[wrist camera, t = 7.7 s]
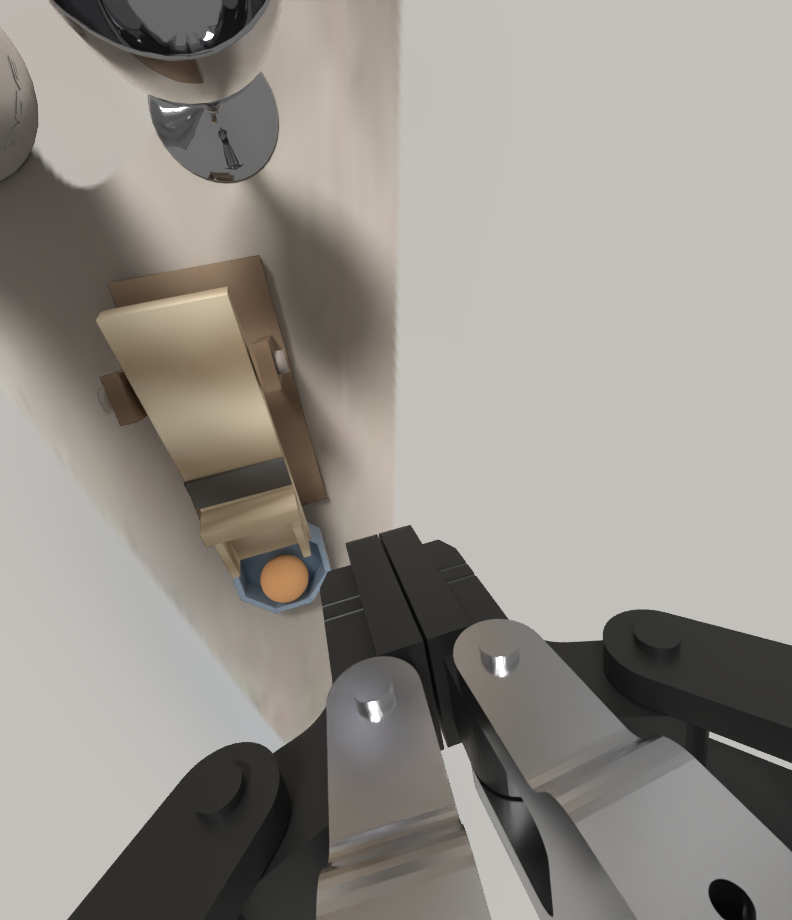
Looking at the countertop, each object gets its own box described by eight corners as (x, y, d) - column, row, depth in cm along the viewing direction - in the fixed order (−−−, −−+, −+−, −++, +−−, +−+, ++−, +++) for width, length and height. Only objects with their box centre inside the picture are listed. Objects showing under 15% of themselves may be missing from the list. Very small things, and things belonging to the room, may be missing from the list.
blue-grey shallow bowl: (224, 528, 33) (219, 544, 31) (313, 504, 35) (315, 517, 32) (251, 602, 36) (249, 621, 33) (334, 576, 37) (337, 594, 35)
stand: (113, 284, 27) (37, 269, 19) (260, 257, 29) (250, 232, 20) (206, 525, 33) (180, 596, 25) (325, 493, 34) (338, 549, 26)
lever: (101, 311, 20) (84, 338, 18) (227, 286, 21) (227, 309, 19) (229, 549, 31) (229, 587, 29) (308, 527, 32) (315, 561, 29)
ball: (252, 606, 31) (247, 562, 33) (286, 614, 34) (279, 573, 36) (291, 583, 31) (283, 540, 33) (322, 593, 33) (313, 553, 35)
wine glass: (172, 201, 27) (51, 75, 13) (114, 37, 24) (-120, -348, 10) (302, 176, 28) (319, 35, 14) (260, 17, 25) (231, -354, 11)
